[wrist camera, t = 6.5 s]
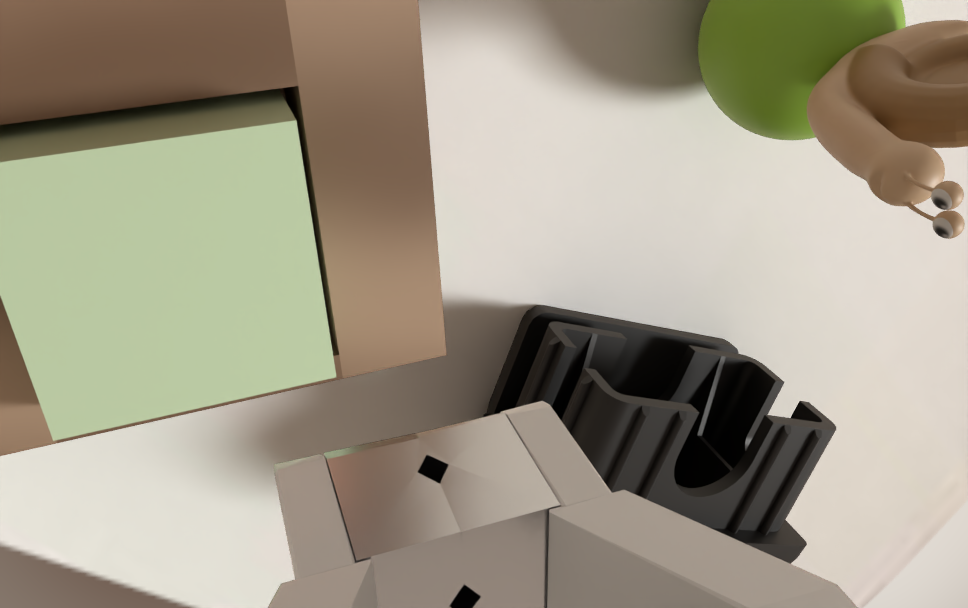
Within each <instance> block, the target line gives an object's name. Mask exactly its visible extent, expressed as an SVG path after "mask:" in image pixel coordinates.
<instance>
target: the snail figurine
mask: <svg viewBox="0 0 968 608" xmlns="http://www.w3.org/2000/svg"><path fill="white" fill-rule="evenodd" d="M698 58H699V65H700V70H701V74H702V78H703V80H704V83H705V86H706V88H707V90H708V92H709V94H710V96H711V97H712V99H713V100H714V102H715V103H716V104H717V106H718V107H719V108H720V109H721V110H722V112H723V113H724V114H725V115H726V116H728V117H729V118H730V119H731V120H732V121H734V122H735V123H736V124H738V125H739V126H741V127H743V128H745V129H746V130H748V131H750V132H753V133H755V134H758V135H761V136H764V137H768V138H773V139H780V140H803V139H810V138H815V137H816V138H817V139H818V141H819V142H820V143H821V144H822V146H823V147H824V148H825V149H826V150H827V151H828V152H829V153H830V154H831V155H832V156H833V157H834V158H835V159H836V160H837V161H839V162H840V163H841V164H842V165H843V166H844V167H845V168H847V169H848V170H849V171H851V172H852V173H854V174H855V175H857V176H859V177H861V178H863V179H864V180H866V181H867V183H868V185H869V187H870V189H871V190H872V192H873V193H874V194H875V195H876V196H877V197H878V198H879V199H881V200H882V201H884V202H886V203H888V204H890V205H894V206H908V207H909V208H910V209H912V210H913V211H915V212H916V213H918V214H920V215H922V216H924V217H925V218H927V219H929V220H932V221H933V229H934V231H935V232H936V234H938V235H939V236H940V237H943V238H948V239H950V238H954V237H957V236H958V235H959V234H960V233H961V232H962V231H963V229H964V219H963V217H962V216H961V215H960V214H959V213H957V212H955V211H950V210H951V209H954V208H956V207H957V206H959V205H960V203H961V202H962V200H963V197H964V193H963V189H962V188H961V186H960V185H959V184H957V183H955V182H952V181H944V182H943V179H944V175H945V168H944V163H943V161H942V159H941V157H940V156H939V154H938V153H937V152H936V151H935V150H934V149H932V148H954V147H965V146H968V21H961V20H945V21H932V22H925V23H920V24H915V25H912V26H908V27H905V14H904V8H903V4H902V1H901V0H710V1H709V3H708V5H707V8H706V10H705V13H704V16H703V19H702V22H701V27H700V32H699V39H698ZM930 197H931V199H932V201H933V203H934V204H935V206H937V207H938V208H940V209H943V210H948V211H943V212H941V213H939V214H938V215H937V216H936V217H933V216H930V215H928V214H926V213H924V212H922V211H920V210H919V209H917V208H916V207H915V206H914V205H916V204H919V203H921V202H923V201H925V200H927V199H929V198H930Z"/></svg>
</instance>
